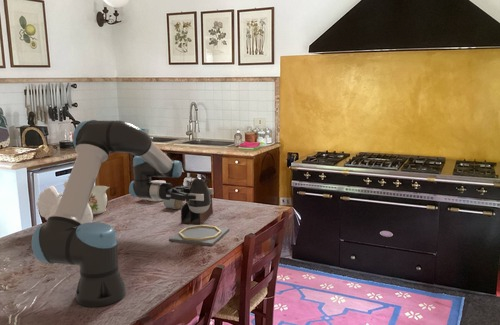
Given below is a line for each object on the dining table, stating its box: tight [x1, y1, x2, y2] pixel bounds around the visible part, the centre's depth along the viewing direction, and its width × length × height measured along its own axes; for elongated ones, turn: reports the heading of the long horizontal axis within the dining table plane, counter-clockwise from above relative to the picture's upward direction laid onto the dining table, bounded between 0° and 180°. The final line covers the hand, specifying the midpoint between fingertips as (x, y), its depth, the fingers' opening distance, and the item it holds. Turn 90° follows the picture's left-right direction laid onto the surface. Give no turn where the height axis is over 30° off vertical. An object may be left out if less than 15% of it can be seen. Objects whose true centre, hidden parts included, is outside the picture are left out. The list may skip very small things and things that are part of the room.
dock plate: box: [168, 224, 230, 247], centre depth 200 cm, size 20×20×2 cm
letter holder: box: [180, 195, 214, 225], centre depth 224 cm, size 10×20×14 cm, turn 167°
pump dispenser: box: [187, 177, 211, 213], centre depth 196 cm, size 10×10×15 cm
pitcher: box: [88, 185, 110, 215], centre depth 235 cm, size 11×18×14 cm, turn 80°
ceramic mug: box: [163, 199, 185, 210], centre depth 243 cm, size 11×8×8 cm
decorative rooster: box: [36, 180, 94, 224], centre depth 206 cm, size 25×16×25 cm, turn 71°
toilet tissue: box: [144, 179, 167, 202], centre depth 260 cm, size 11×12×10 cm
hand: (208, 194), depth 195 cm, fingers closed on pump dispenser, 9 cm apart
